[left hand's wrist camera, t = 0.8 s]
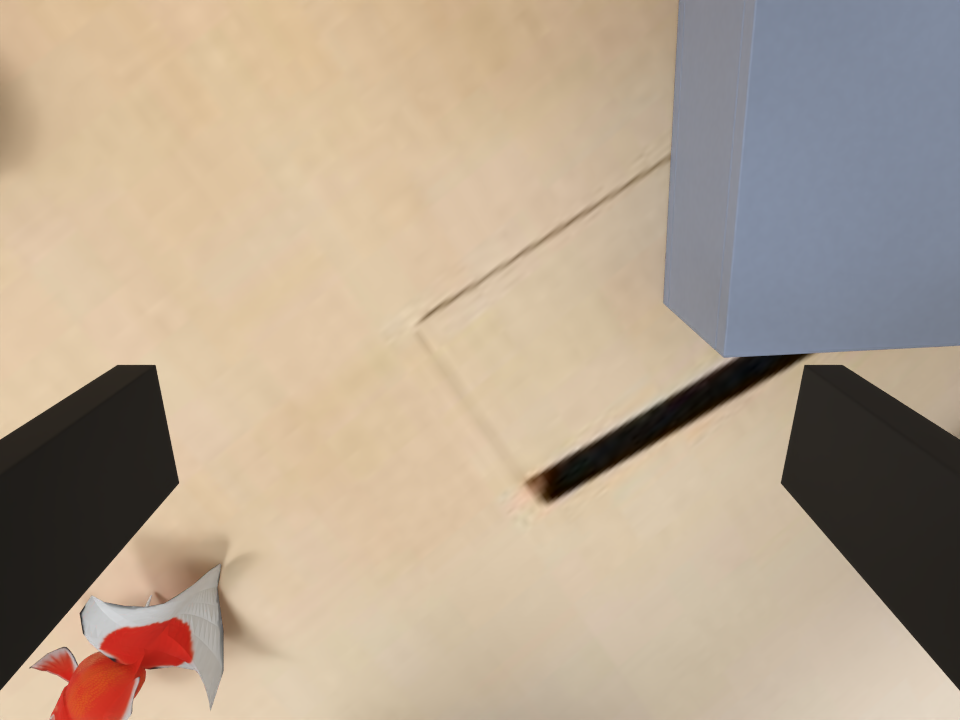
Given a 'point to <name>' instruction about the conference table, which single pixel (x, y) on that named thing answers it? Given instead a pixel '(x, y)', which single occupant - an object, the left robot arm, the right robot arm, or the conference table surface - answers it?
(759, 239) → the cabinet
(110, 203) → the conference table surface
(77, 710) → the fish
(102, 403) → the left robot arm
